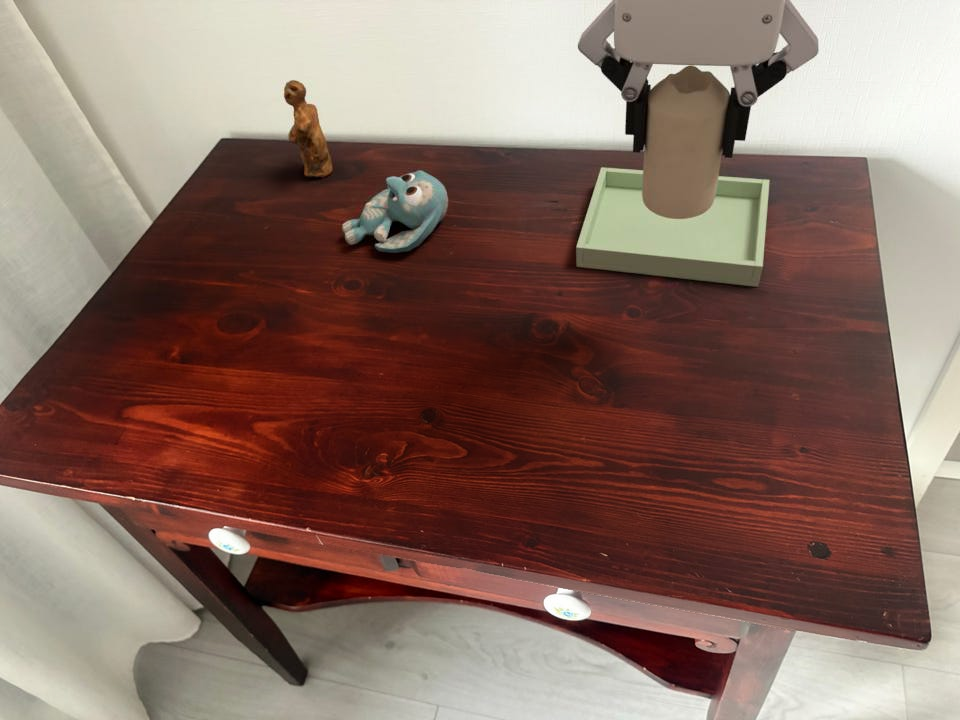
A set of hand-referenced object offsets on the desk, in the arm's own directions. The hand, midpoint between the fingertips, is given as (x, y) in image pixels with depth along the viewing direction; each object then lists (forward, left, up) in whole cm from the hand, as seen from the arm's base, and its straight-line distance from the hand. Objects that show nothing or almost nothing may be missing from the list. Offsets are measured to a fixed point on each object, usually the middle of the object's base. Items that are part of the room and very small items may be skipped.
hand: (683, 142), depth 54 cm
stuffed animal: (+30, -9, -20) cm, 37 cm away
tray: (+1, -13, -19) cm, 24 cm away
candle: (0, 0, -5) cm, 5 cm away
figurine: (+44, -18, -20) cm, 51 cm away
